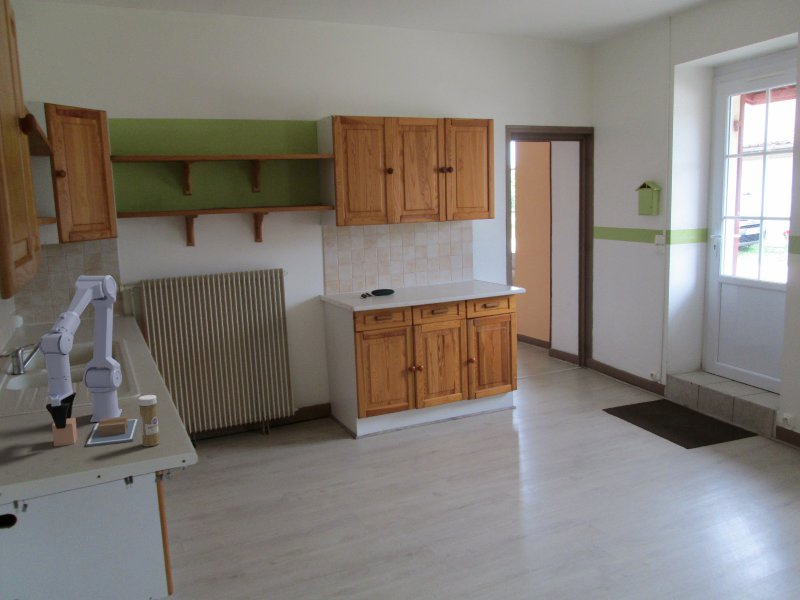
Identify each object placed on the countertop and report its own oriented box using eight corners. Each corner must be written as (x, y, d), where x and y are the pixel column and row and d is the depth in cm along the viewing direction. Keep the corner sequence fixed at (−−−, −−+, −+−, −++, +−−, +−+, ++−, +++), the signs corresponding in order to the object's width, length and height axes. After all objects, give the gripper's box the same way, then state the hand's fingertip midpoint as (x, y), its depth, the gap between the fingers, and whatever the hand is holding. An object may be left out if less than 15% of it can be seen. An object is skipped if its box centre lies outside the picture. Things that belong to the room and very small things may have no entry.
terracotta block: (58, 440, 185) (55, 419, 184) (77, 438, 186) (75, 417, 185) (54, 446, 180) (52, 425, 179) (74, 444, 181) (72, 423, 181)
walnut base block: (102, 428, 192) (101, 418, 191) (128, 425, 194) (127, 415, 193) (98, 436, 185) (97, 426, 184) (125, 433, 187) (124, 423, 186)
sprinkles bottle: (154, 447, 178) (150, 399, 175) (139, 446, 178) (134, 399, 176) (163, 441, 182) (159, 394, 180) (147, 440, 183) (143, 394, 181)
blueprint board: (95, 425, 196) (95, 423, 196) (138, 420, 200) (138, 418, 199) (85, 446, 179) (85, 444, 179) (133, 441, 182) (132, 438, 182)
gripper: (48, 371, 186) (53, 417, 188) (36, 384, 172) (41, 434, 174) (76, 368, 188) (80, 414, 190) (66, 381, 174) (71, 431, 176)
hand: (63, 423), depth 182 cm, fingers open, 7 cm apart
